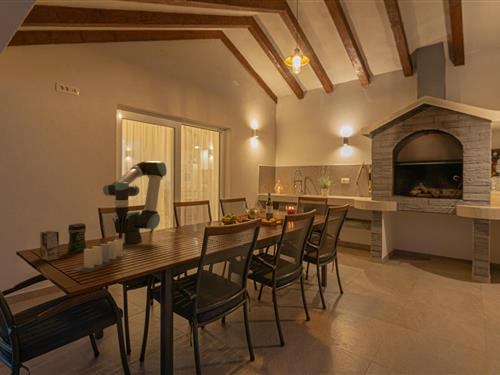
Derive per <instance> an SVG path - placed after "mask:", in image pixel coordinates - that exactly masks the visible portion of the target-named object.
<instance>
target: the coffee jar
mask: <svg viewBox="0 0 500 375" xmlns="http://www.w3.org/2000/svg"><path fill="white" fill-rule="evenodd" d="M67 230H68V234H69V235H68V236H69V238H68V239H69V240H68V247H67V251H68V253H70V254H76V253H82V252H84V249H87V247H86V246H87V245H86V238H85V236H86V230H87V227H86V223H74V224H69V225H68V229H67Z"/></svg>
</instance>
